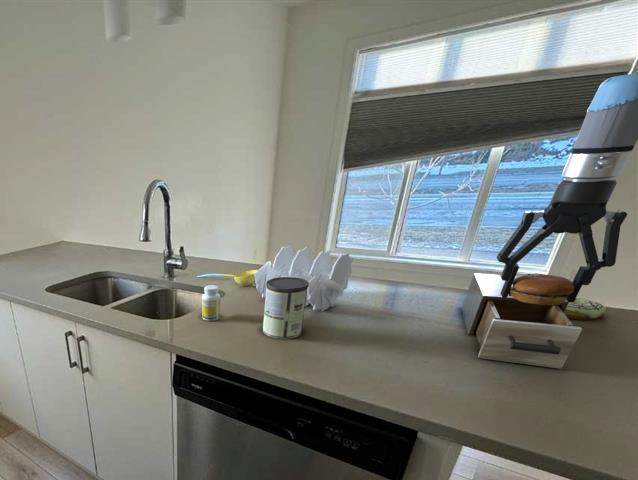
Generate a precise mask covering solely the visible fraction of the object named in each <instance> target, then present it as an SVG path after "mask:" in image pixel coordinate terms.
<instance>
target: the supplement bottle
mask: <svg viewBox="0 0 638 480" xmlns="http://www.w3.org/2000/svg"><path fill="white" fill-rule="evenodd" d="M203 289H204V291H203V292H204V293H203V294H202V296H201V319H202V320H204V321H207V322H214V321H215V322H216V321H218V320H219V319H220V317H221V294H220V293H218V292H219V287H218V285H214V284H213V285H212V284H211V285H206V286H204V288H203Z"/></svg>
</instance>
